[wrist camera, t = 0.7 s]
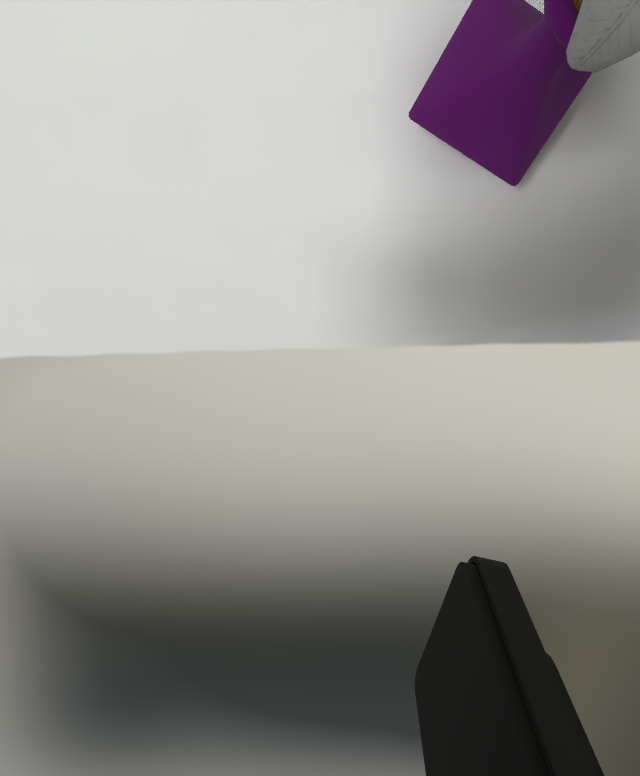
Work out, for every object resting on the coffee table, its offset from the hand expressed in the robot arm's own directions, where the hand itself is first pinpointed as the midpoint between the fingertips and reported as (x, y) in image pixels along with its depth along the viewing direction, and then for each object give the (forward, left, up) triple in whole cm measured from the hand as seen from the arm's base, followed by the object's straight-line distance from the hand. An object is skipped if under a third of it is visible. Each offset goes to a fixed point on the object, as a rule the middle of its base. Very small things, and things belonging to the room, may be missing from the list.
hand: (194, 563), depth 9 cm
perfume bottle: (-14, +8, -28) cm, 33 cm away
